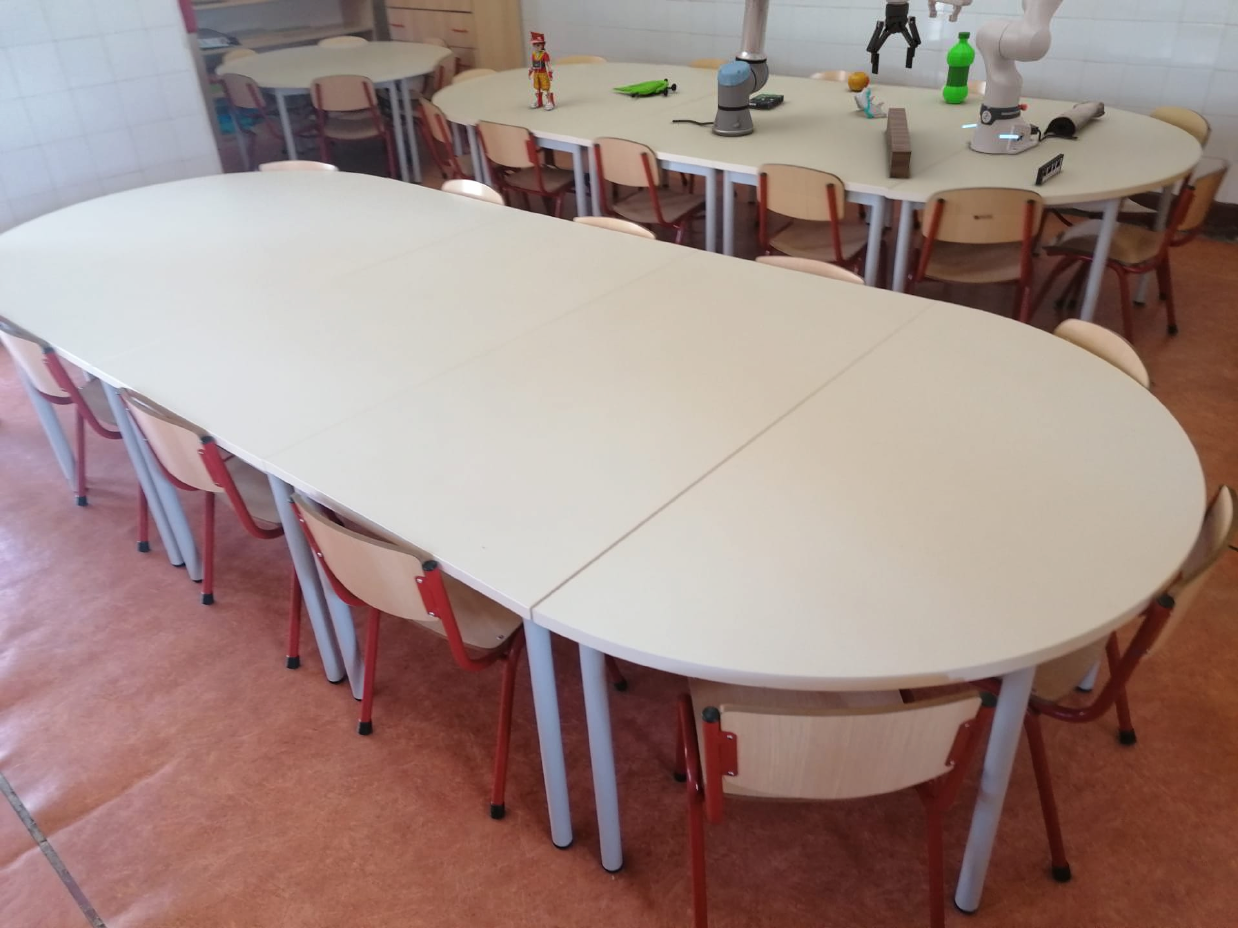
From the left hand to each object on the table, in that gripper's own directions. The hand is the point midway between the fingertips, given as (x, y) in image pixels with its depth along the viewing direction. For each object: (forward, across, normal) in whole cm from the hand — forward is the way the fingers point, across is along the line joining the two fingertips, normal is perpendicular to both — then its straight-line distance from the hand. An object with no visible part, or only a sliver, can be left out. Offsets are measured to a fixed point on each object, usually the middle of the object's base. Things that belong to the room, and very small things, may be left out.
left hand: (891, 71), depth 310 cm
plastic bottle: (+22, +49, +26) cm, 59 cm away
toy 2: (+18, -51, +112) cm, 125 cm away
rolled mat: (+23, +60, -25) cm, 69 cm away
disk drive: (+20, -16, +62) cm, 67 cm away
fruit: (+21, +29, +64) cm, 73 cm away
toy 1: (+17, -97, +110) cm, 148 cm away
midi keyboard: (+23, +14, -65) cm, 71 cm away
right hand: (-21, -10, -38) cm, 45 cm away
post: (+22, -10, -20) cm, 31 cm away
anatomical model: (+21, +11, +28) cm, 37 cm away
